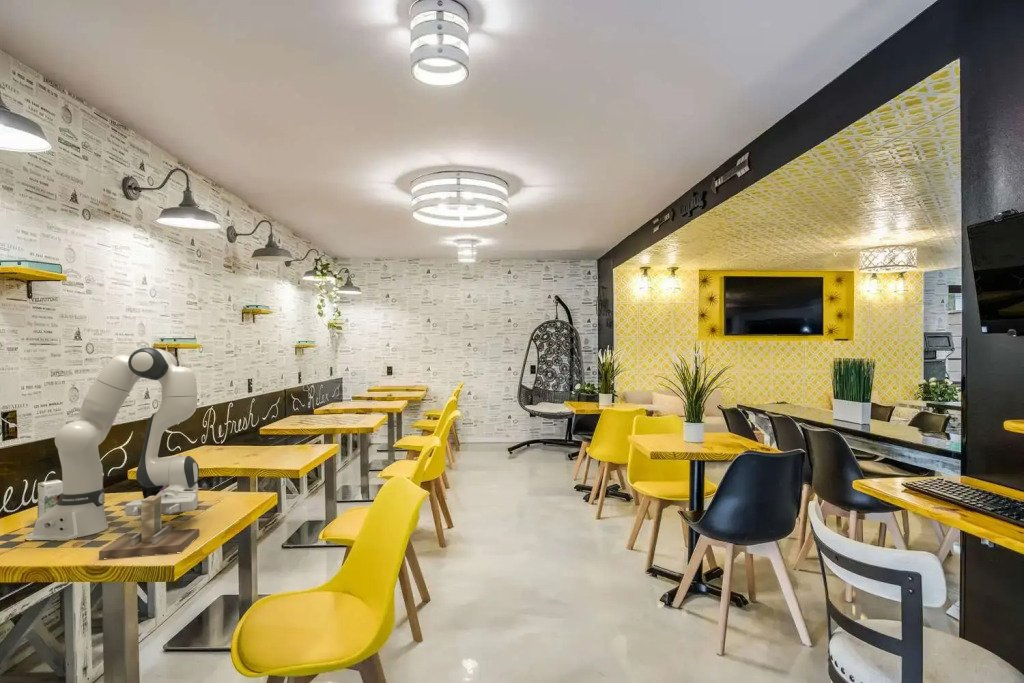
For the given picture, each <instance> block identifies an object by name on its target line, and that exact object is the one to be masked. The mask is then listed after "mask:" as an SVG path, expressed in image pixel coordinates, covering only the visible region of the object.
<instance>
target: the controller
mask: <svg viewBox="0 0 1024 683" xmlns="http://www.w3.org/2000/svg"><path fill="white" fill-rule="evenodd" d="M140 486H141V492H142V497H143V499H146V498H148V497H149V496H156V495H157V494H158V493H159V492H160V489H162V488H163V485H160V486H155V487H149V488H146V487H144V486H143V485H141V484H140Z"/></svg>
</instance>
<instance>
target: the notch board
mask: <svg viewBox="0 0 1024 683" xmlns="http://www.w3.org/2000/svg"><path fill="white" fill-rule="evenodd" d="M199 537H200V528H199V527H198V528H188V529H186V528H185V529H175V530H173V524H168V525H166V526H164V527H163V528H161V531H159V532H158V533H157V534H155V535H154V536H153V537H152V542H146V543H142V530H141V531H139V532H133V533H132V532H131V533H125V534H123V535H121V536H120V537H119V538H117V539H115V540H114V541H112V542H111V543H110V544H108V545H106V546H105V547H103V548H102V549H100V550H98V560H99V559H101V560H105V559H104V558H113V559H119V558H118V557H126V558H133V557H132V556H138V557H143V556H142V555H150V556H156V555H155V554H163V555H169V554H168V553H175V554H178V553H177V552H181V551H182V550H183V549H184V548H185V547H186V548H187V547H188V546H189V544H190V543H191V542H192V541H193V540H194V539H195V540H197V539H198V538H199ZM195 540H194V541H195ZM194 541H193V542H194ZM193 542H192V543H193ZM192 543H191V544H192ZM191 544H190V545H191ZM186 548H185V549H186ZM185 549H184V550H185ZM184 550H183V551H184ZM183 551H182V552H183ZM182 552H181V553H182Z"/></svg>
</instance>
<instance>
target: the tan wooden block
mask: <svg viewBox="0 0 1024 683" xmlns="http://www.w3.org/2000/svg"><path fill="white" fill-rule="evenodd" d="M143 499H144V498H143ZM161 530H162V514H161V495H158V496H149V497H148V498H146V499H144V500H142V501H141V531H142V543H146V542H152V537H153V536H154V535H155V534H157V533H158V532H159V531H161Z"/></svg>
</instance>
